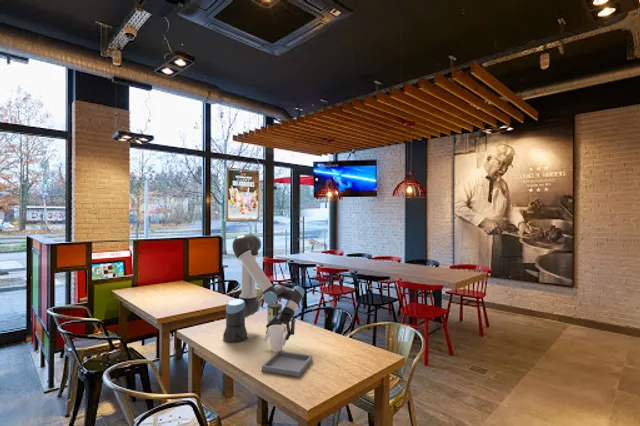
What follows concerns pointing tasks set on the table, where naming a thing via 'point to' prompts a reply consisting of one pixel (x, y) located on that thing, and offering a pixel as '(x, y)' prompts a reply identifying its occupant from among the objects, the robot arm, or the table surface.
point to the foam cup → (276, 337)
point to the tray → (287, 364)
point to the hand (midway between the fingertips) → (273, 342)
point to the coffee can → (274, 311)
